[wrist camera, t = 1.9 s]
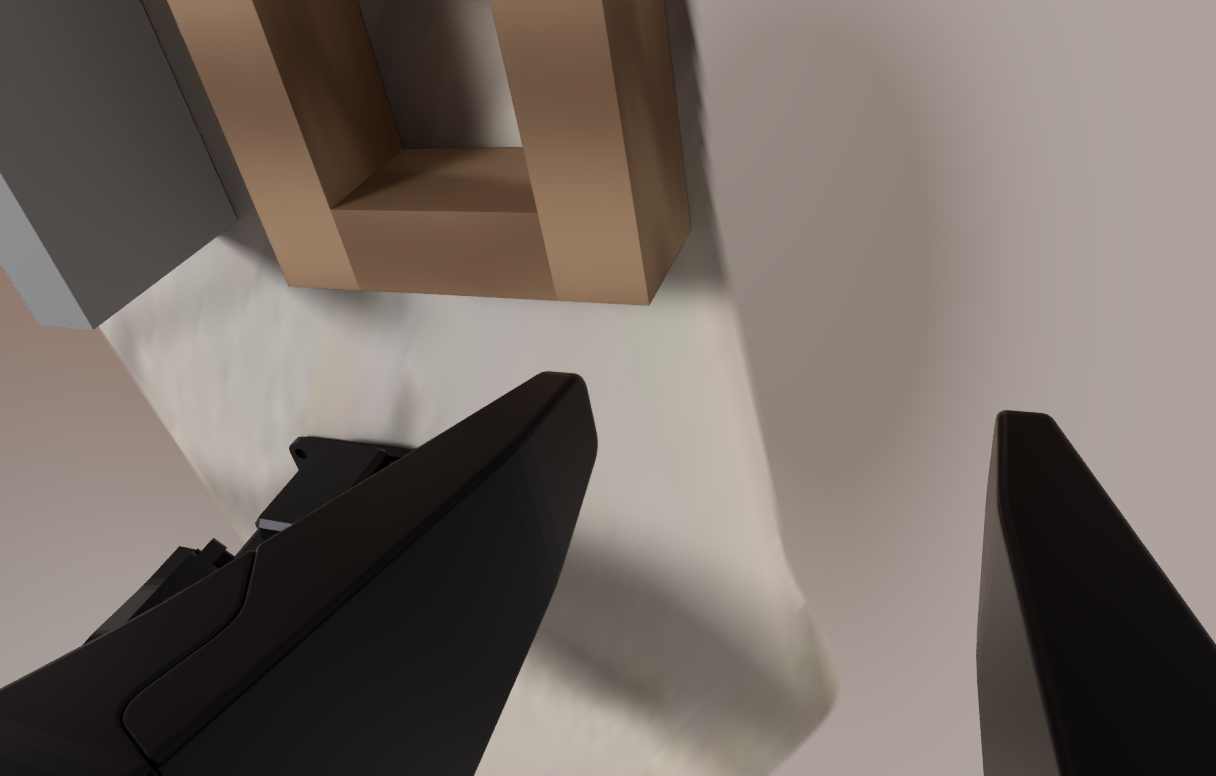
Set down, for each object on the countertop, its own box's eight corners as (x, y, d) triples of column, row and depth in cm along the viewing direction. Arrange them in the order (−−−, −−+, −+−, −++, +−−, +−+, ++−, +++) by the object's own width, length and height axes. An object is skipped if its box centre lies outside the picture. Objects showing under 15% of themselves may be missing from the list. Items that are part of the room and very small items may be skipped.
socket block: (690, 230, 23) (648, 305, 20) (359, 222, 26) (288, 286, 24) (634, -251, 17) (566, -230, 14) (217, -176, 20) (104, -148, 18)
